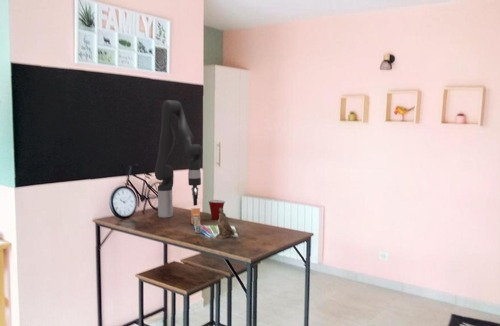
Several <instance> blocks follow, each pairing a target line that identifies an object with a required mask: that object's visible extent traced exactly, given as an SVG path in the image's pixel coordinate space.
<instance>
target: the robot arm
mask: <svg viewBox="0 0 500 326" xmlns="http://www.w3.org/2000/svg"><path fill="white" fill-rule="evenodd" d="M172 116H175V118H176V119H177V121H178V129H177V130H178V133H179V136H180V137H181V140H182V142H183V149H184V152H185V154H186V155H187V156H188V157H192V159H190V160H189V161H188V163H187V164H188V172H187V175H188V176H187V177H188V182H187V183H188V185H189V186H192V187H191V196H192V201H193V206H198V196H199V187H198V186H201V185H202V175H201V174H202V173H201V161H202V155H203V148H202V146H201V145H200V144H199V143H196V144H193V142H194V140H195V137H194V134H193V133H192V131H191V128H190V127H189V125H188V124H189V123H188V121H187V118H186V115H185V112H184V109H183V106H182V103H181V102H180V101H178V100H171V99H166V100H165V101H163V103H162V106H161V127H160V136H159V146H158V152H157V159H156V163H155V167H154V176H155V179H156V180H157V181H161V183H160V184H159V185H158V186H157V213H158V214H157V215H158V216H157V217H158V218H171V217H173V214H174V212H173V209H174V208H173V186H174V179H175V178H174V176H175V175H174V169H173V167H172V165H169V164H167V159H168V157H169V156H170V154H171V153H172V151H173V149H174V147H175V140H176V134H175V132H174V129H173V126H172Z"/></svg>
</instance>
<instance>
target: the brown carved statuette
mask: <svg viewBox="0 0 500 326" xmlns="http://www.w3.org/2000/svg"><path fill="white" fill-rule="evenodd" d="M219 211H220V213H219V219H218V220H217V228H218V232H219V233H218V234H216V235H215V239H220V240H224V239H227V238H230V237H232V236H235V231H234V230H233V228H232V227H231V224H230V223H229V221H228V219H227V214H226V213H225V212H224V208H223V209H222V208H220V209H219Z"/></svg>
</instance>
